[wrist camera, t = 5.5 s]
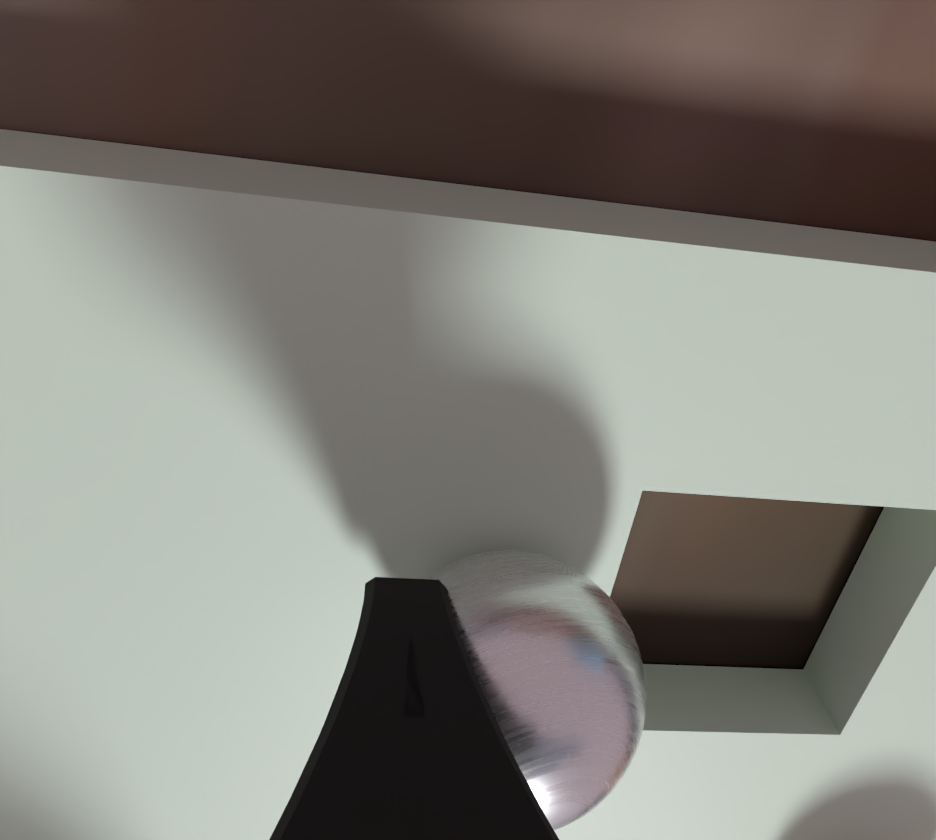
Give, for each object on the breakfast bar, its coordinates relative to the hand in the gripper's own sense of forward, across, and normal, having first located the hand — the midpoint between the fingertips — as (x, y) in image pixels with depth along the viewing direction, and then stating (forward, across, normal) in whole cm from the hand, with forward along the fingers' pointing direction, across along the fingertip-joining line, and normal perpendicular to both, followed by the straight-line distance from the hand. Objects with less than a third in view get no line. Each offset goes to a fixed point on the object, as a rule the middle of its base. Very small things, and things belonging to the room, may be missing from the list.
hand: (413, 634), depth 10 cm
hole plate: (+3, 0, +3) cm, 4 cm away
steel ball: (0, -1, +1) cm, 1 cm away
